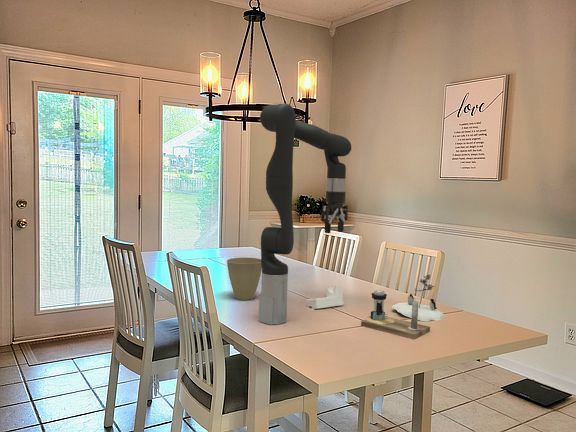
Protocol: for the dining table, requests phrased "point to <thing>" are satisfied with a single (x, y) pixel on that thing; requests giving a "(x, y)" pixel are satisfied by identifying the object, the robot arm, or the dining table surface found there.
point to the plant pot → (244, 276)
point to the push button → (378, 305)
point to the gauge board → (399, 325)
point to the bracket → (328, 299)
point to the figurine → (420, 306)
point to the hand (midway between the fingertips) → (334, 232)
